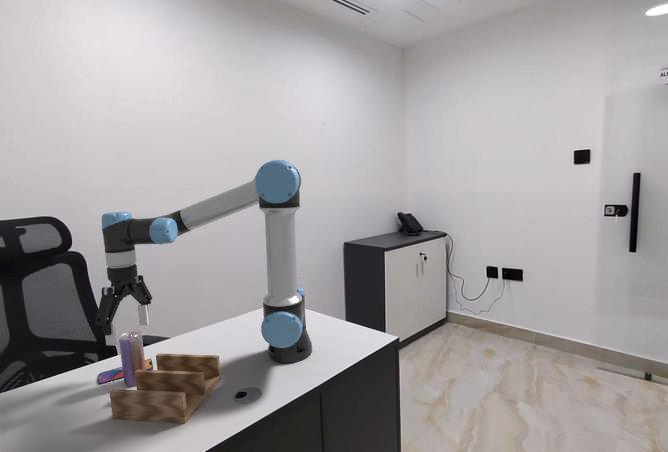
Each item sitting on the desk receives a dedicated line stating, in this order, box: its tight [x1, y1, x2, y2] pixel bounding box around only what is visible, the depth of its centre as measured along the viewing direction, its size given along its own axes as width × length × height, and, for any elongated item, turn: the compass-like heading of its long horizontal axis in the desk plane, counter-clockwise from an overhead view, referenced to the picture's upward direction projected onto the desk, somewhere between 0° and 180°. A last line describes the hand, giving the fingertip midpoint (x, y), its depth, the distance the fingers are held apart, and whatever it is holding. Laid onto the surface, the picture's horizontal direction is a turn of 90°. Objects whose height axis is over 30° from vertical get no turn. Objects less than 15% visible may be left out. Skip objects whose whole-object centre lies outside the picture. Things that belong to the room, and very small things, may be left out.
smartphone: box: [97, 358, 154, 386], centre depth 112 cm, size 7×15×1 cm, turn 122°
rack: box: [109, 353, 222, 424], centre depth 97 cm, size 20×20×8 cm
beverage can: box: [118, 330, 146, 387], centre depth 105 cm, size 6×6×15 cm
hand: (129, 334), depth 104 cm, fingers open, 13 cm apart
